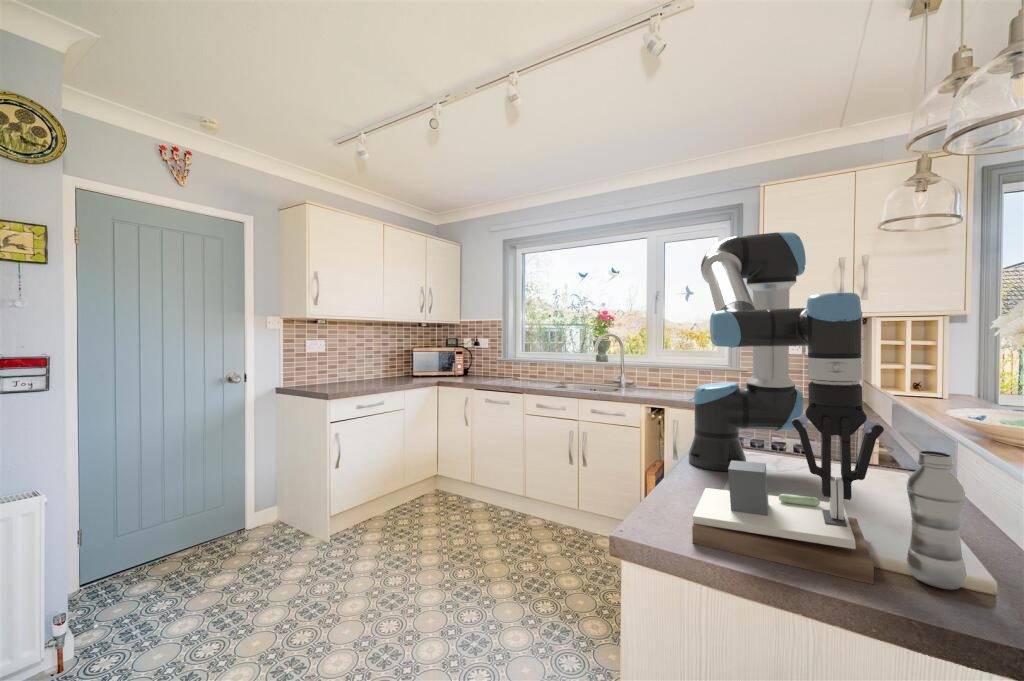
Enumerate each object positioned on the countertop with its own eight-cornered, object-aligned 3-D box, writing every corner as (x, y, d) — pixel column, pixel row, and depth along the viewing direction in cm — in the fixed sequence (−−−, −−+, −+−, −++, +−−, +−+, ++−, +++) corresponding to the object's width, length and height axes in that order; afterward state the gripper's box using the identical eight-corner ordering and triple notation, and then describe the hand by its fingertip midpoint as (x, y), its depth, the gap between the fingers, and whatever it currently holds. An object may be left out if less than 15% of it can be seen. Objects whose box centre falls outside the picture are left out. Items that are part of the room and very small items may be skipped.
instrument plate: (706, 494, 94) (702, 451, 94) (843, 511, 81) (839, 461, 81) (693, 523, 80) (689, 473, 80) (855, 549, 67) (851, 489, 67)
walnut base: (706, 507, 95) (706, 493, 95) (856, 534, 81) (856, 518, 81) (692, 543, 79) (692, 526, 79) (873, 584, 66) (873, 563, 65)
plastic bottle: (977, 590, 63) (977, 457, 63) (948, 600, 61) (948, 462, 61) (924, 567, 70) (923, 446, 69) (896, 576, 68) (895, 450, 67)
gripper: (789, 383, 75) (791, 516, 75) (889, 386, 68) (891, 533, 68) (788, 378, 81) (791, 501, 82) (879, 380, 74) (881, 515, 74)
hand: (836, 515), depth 75 cm, fingers closed
